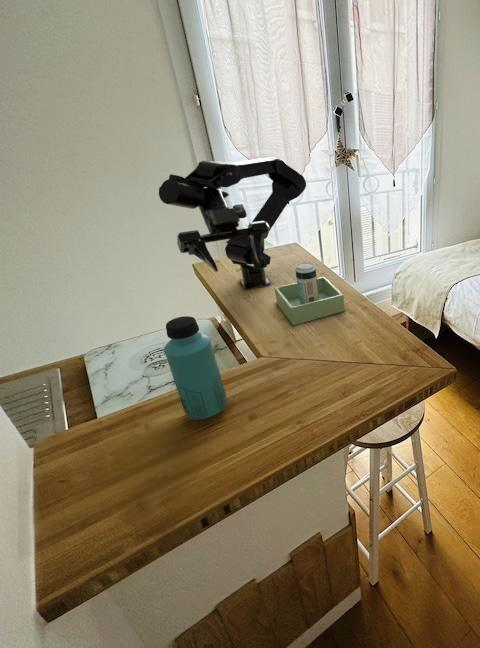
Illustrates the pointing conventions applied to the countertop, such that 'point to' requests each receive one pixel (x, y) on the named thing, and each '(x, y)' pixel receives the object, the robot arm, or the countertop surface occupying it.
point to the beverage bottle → (194, 369)
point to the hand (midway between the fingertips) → (238, 266)
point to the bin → (296, 313)
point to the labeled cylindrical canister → (307, 283)
